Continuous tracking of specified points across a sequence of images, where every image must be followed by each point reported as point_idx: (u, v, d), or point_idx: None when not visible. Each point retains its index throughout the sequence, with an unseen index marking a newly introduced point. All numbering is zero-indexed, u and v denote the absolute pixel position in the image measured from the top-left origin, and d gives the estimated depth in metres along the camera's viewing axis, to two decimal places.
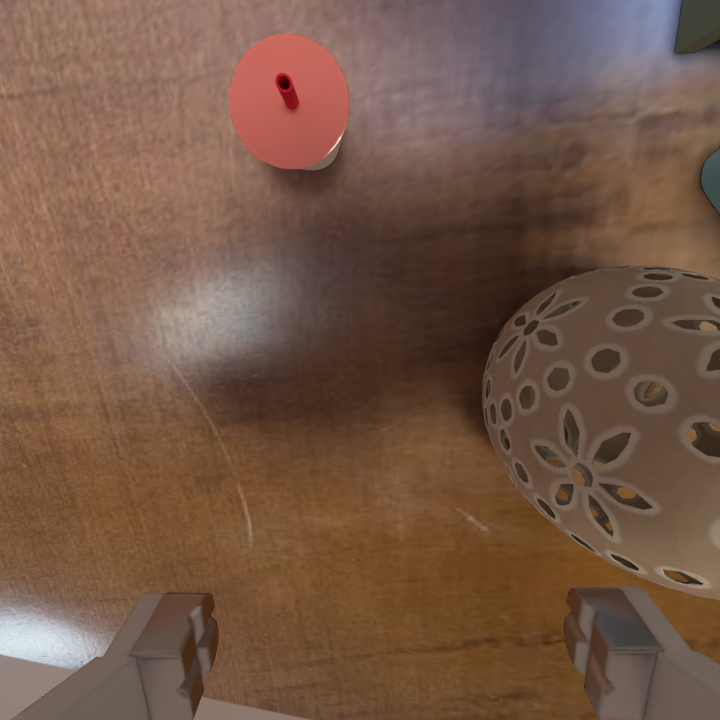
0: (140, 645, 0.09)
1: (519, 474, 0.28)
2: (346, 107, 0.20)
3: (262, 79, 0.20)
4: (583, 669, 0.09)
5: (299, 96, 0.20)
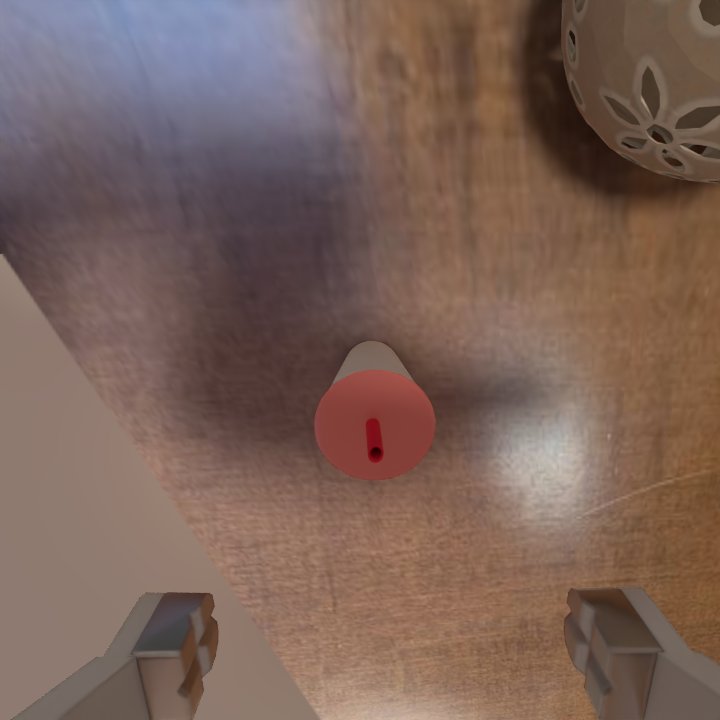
0: (140, 645, 0.09)
1: None
2: (378, 372, 0.19)
3: (352, 450, 0.20)
4: (583, 669, 0.09)
5: (367, 417, 0.20)
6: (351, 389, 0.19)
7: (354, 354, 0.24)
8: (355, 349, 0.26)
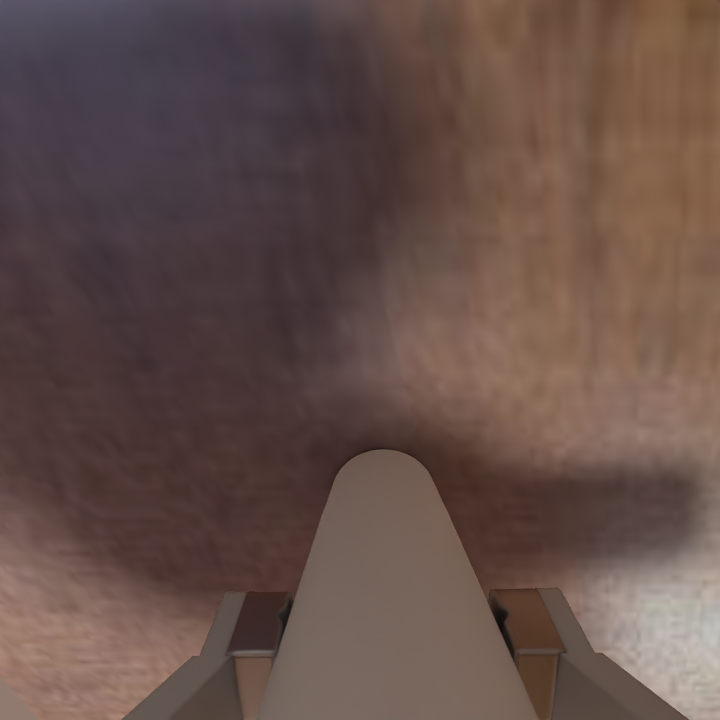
0: (234, 644, 0.09)
1: None
2: None
3: None
4: None
5: None
6: None
7: (346, 512, 0.11)
8: (350, 481, 0.12)
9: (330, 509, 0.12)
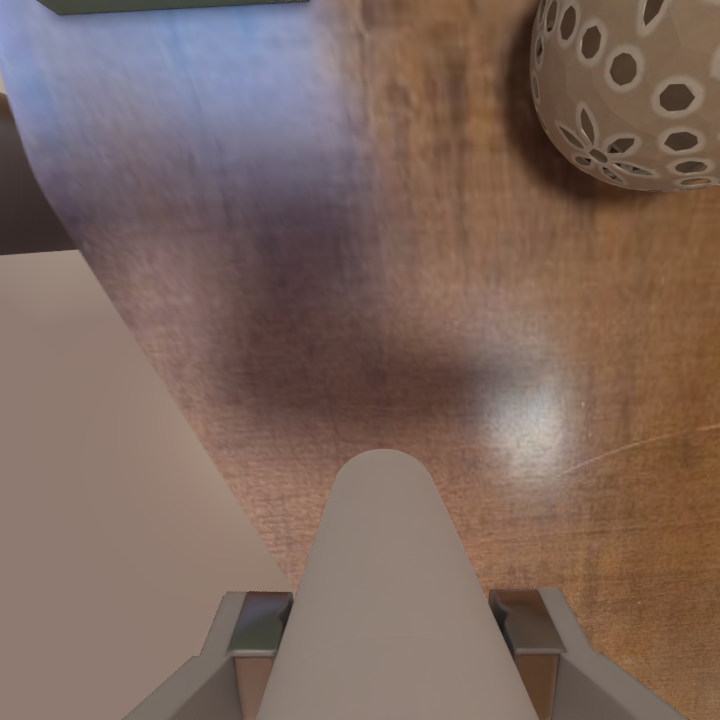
0: (234, 644, 0.09)
1: None
2: None
3: None
4: None
5: None
6: None
7: (347, 511, 0.11)
8: (350, 481, 0.12)
9: (330, 508, 0.12)
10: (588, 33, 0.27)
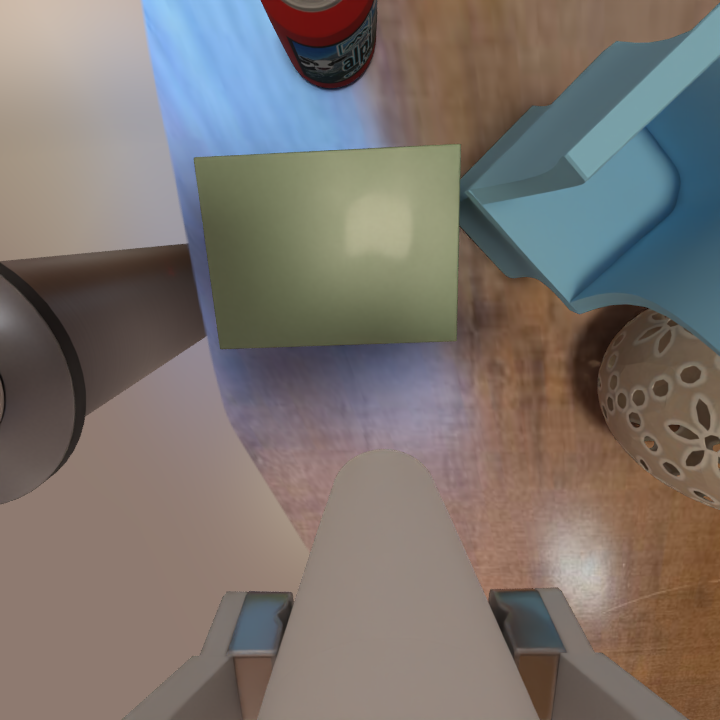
0: (234, 644, 0.09)
1: None
2: None
3: None
4: None
5: None
6: None
7: (347, 512, 0.11)
8: (351, 481, 0.12)
9: (330, 509, 0.12)
10: None
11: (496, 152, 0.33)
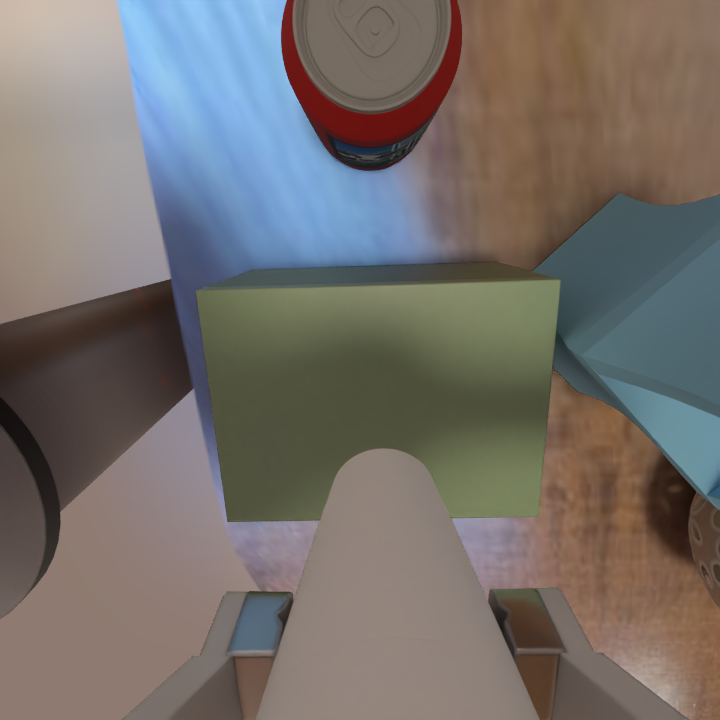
0: (234, 644, 0.09)
1: None
2: None
3: None
4: None
5: None
6: None
7: (346, 511, 0.11)
8: (350, 480, 0.12)
9: (330, 508, 0.12)
10: None
11: (577, 254, 0.26)
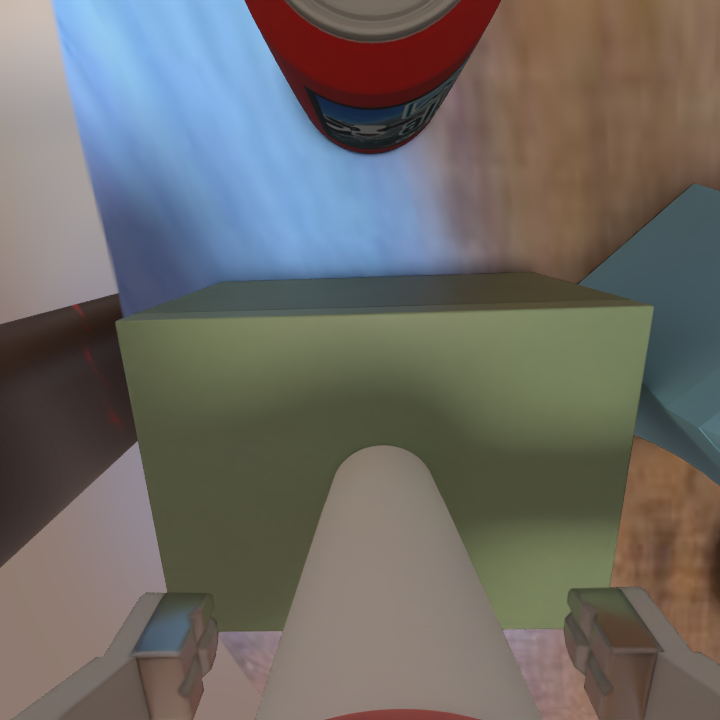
0: (140, 645, 0.09)
1: None
2: (418, 715, 0.06)
3: None
4: (583, 669, 0.09)
5: None
6: None
7: (347, 505, 0.11)
8: (350, 476, 0.13)
9: (331, 503, 0.12)
10: None
11: (643, 264, 0.20)
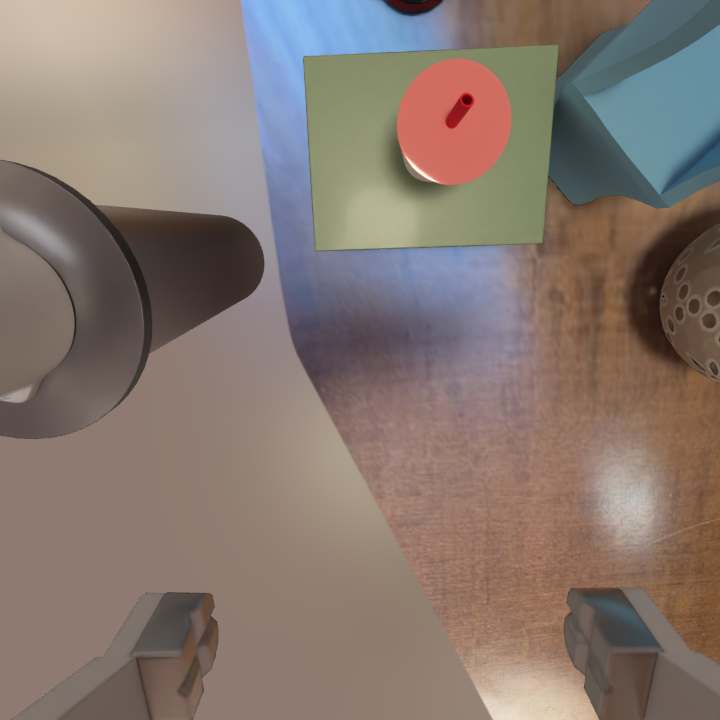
0: (140, 645, 0.09)
1: None
2: (460, 62, 0.20)
3: (432, 150, 0.21)
4: (583, 669, 0.09)
5: (447, 113, 0.21)
6: (433, 81, 0.20)
7: None
8: None
9: None
10: None
11: (571, 74, 0.35)
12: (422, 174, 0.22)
